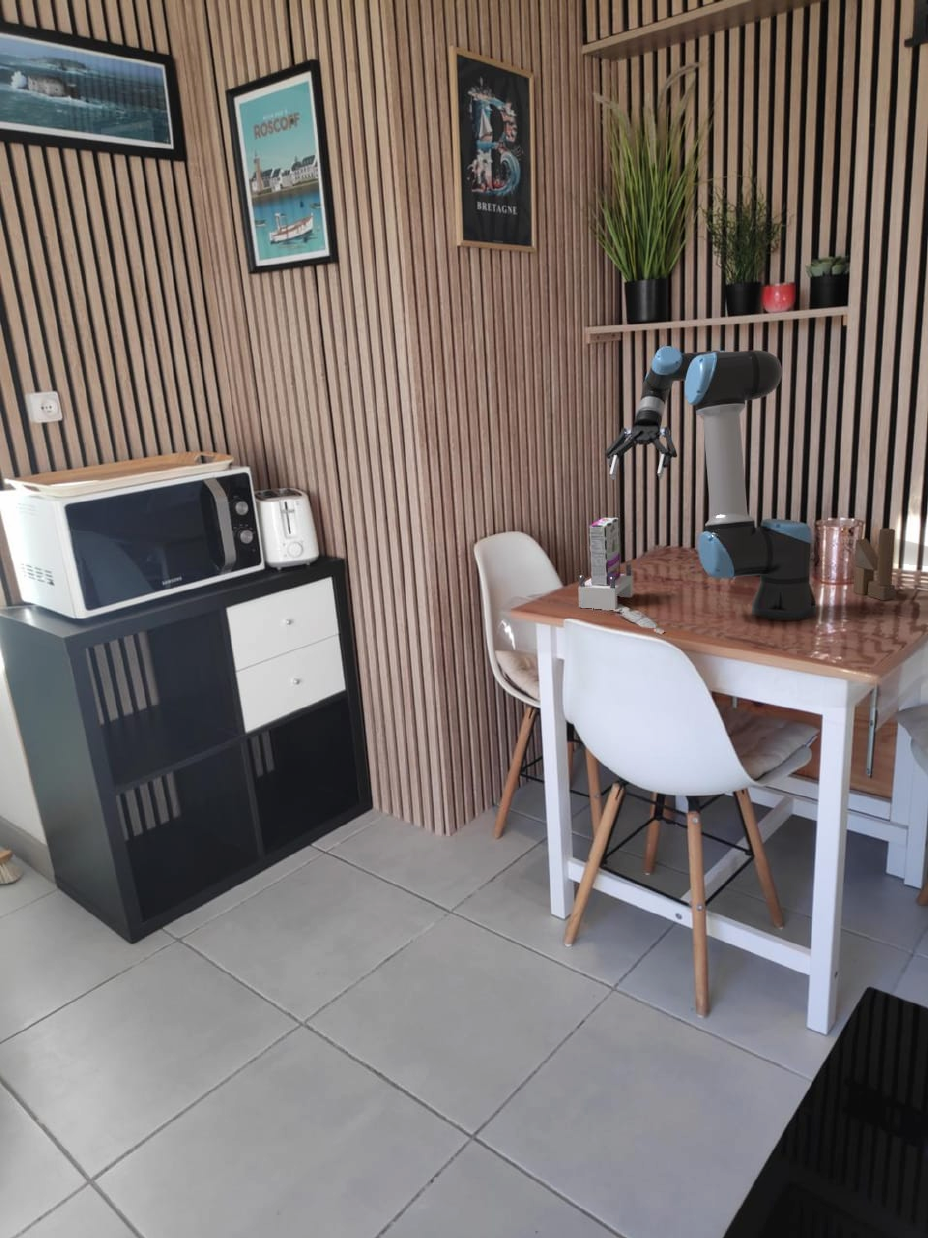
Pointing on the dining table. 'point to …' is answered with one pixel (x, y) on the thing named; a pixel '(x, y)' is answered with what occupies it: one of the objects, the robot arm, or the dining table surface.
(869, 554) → the wooden block stack
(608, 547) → the candy bar box
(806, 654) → the dining table surface
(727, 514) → the robot arm
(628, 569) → the peg shelf
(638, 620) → the driftwood
